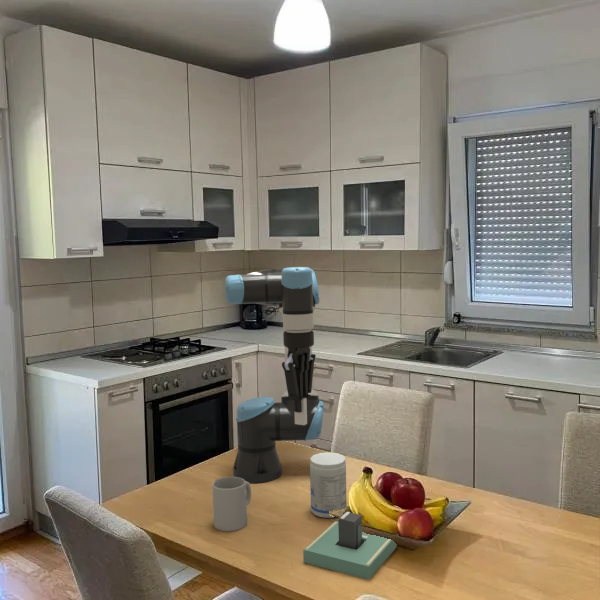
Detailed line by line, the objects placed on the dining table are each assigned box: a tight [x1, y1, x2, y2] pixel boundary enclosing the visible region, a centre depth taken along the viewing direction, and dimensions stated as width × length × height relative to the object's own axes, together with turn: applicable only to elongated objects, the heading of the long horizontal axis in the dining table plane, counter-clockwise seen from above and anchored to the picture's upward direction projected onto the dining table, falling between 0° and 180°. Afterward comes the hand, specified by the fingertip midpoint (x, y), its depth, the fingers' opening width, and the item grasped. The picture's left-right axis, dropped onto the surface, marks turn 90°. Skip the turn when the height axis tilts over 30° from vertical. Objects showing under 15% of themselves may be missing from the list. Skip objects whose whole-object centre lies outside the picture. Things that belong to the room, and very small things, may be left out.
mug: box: [211, 476, 252, 532], centre depth 163 cm, size 12×8×11 cm
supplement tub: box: [309, 451, 347, 519], centre depth 167 cm, size 10×10×15 cm
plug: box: [337, 511, 363, 550], centre depth 145 cm, size 4×4×9 cm
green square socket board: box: [302, 520, 398, 581], centre depth 145 cm, size 16×16×3 cm
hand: (301, 423), depth 158 cm, fingers closed
